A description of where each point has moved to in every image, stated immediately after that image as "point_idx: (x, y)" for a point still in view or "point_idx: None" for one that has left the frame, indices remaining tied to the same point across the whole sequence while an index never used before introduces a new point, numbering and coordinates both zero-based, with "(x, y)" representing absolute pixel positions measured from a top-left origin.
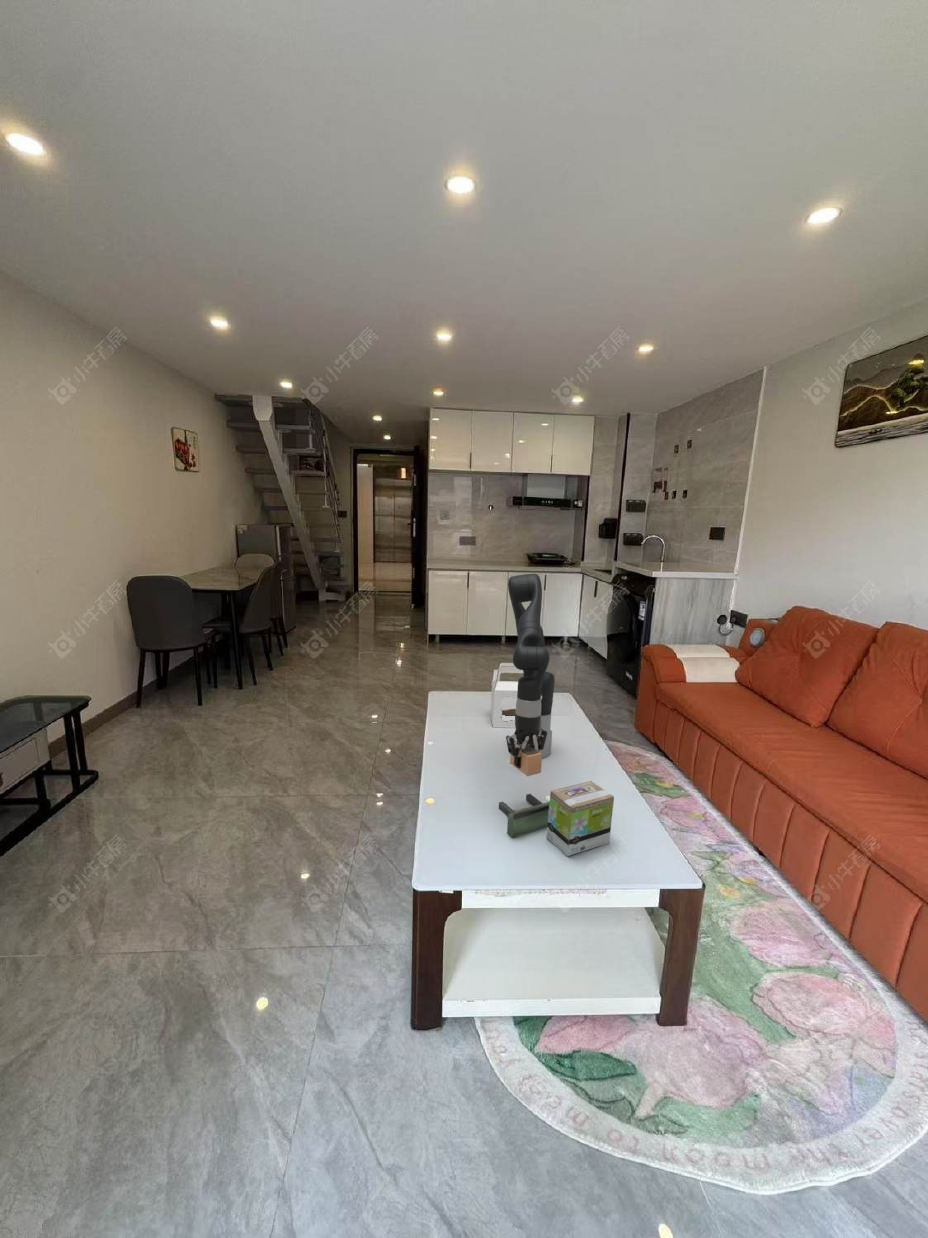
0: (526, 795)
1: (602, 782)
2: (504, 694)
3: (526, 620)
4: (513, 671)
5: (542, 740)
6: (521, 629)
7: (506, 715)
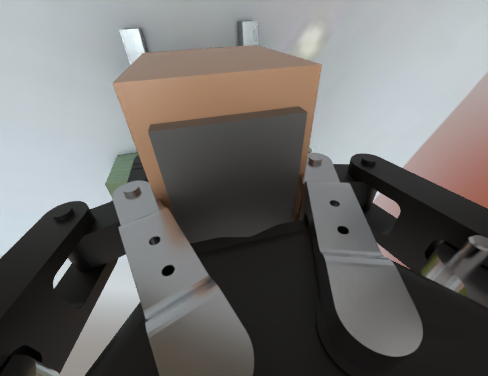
0: (242, 24)
1: (480, 30)
2: None
3: None
4: None
5: (396, 257)
6: None
7: None
